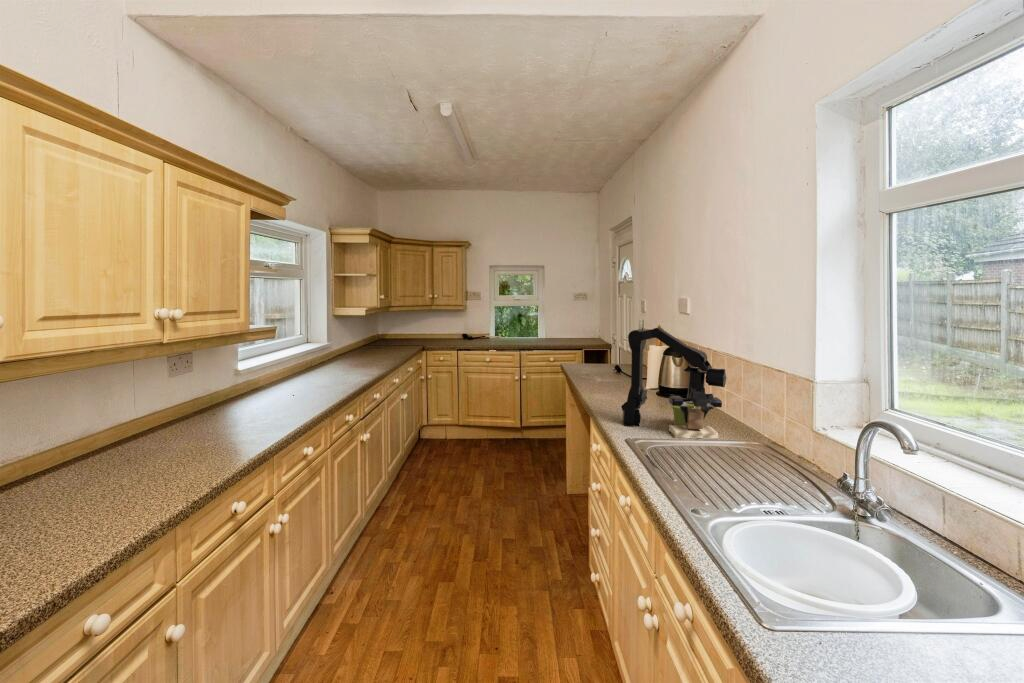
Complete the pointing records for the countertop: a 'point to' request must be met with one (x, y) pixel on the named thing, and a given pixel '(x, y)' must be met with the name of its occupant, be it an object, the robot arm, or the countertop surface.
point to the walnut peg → (694, 419)
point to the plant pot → (680, 414)
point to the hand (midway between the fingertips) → (693, 422)
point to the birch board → (692, 432)
